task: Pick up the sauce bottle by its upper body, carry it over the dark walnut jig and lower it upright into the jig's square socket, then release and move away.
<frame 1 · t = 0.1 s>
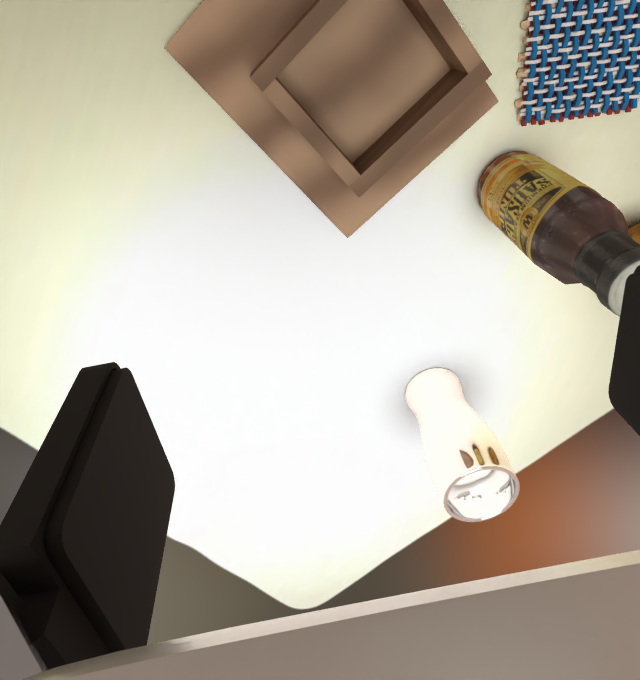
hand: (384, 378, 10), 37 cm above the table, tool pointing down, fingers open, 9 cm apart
woven mat: (577, 47, 42), on the table
sauce bottle: (506, 187, 47), on the table
beer glass: (431, 389, 58), on the table
walnut jig: (360, 70, 41), on the table
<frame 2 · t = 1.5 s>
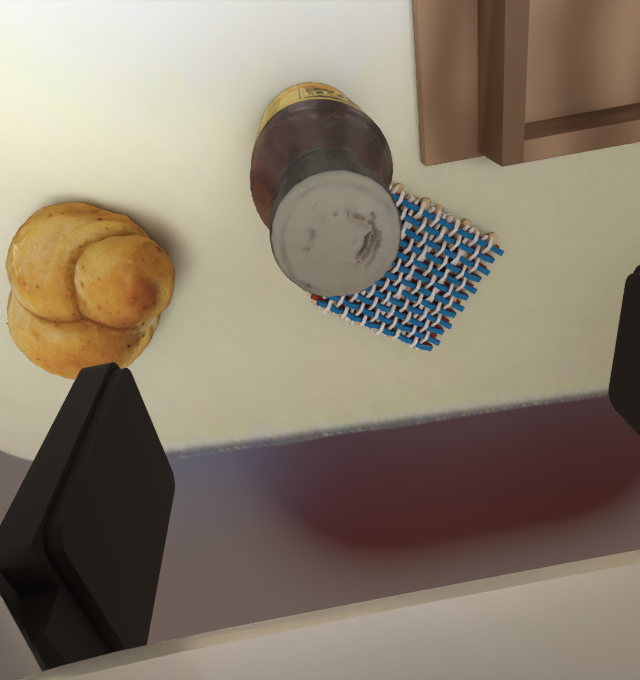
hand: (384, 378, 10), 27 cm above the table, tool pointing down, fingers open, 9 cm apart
bread roll: (97, 281, 37), on the table
woven mat: (400, 265, 39), on the table
sauce bottle: (307, 132, 33), on the table
walnut jig: (566, 21, 31), on the table
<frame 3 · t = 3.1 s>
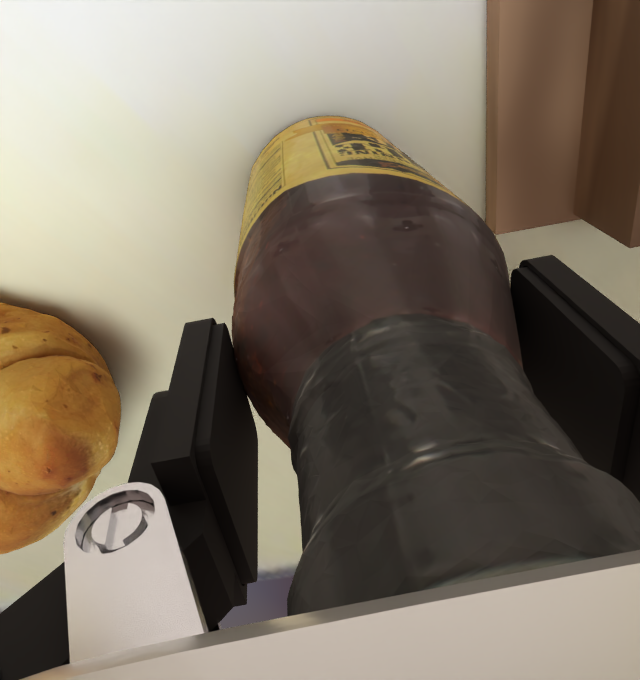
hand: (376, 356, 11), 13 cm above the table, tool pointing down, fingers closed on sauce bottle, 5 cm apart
bread roll: (20, 394, 26), on the table
sauce bottle: (319, 186, 22), on the table, touching gripper
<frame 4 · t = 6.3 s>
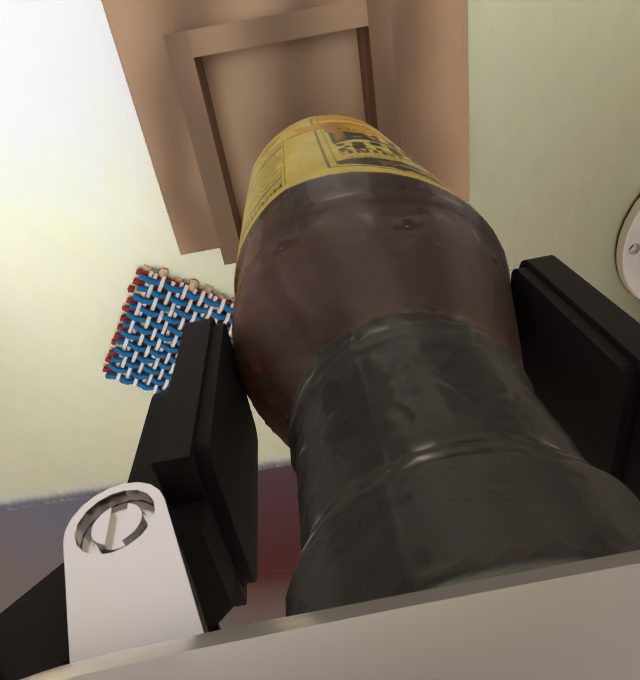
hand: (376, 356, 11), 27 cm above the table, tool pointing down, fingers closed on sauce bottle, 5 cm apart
woven mat: (188, 336, 42), on the table
sauce bottle: (320, 185, 22), point 14 cm above the table, touching gripper
walnut jig: (292, 127, 34), on the table
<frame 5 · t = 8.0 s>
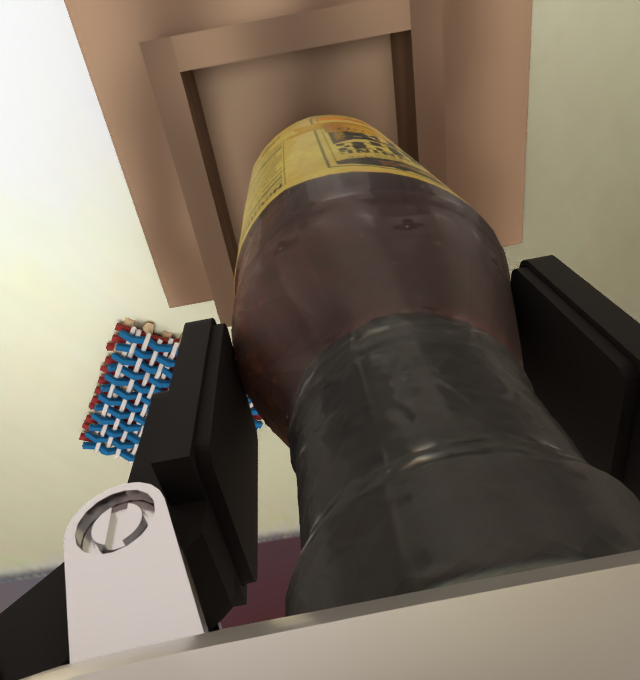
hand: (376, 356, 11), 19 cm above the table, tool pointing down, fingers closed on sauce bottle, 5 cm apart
woven mat: (181, 396, 35), on the table
sauce bottle: (320, 185, 22), point 6 cm above the table, touching gripper
walnut jig: (307, 155, 27), on the table
when the fingers open (16 cm above the table, at t = 9.4 s): sauce bottle drops 1 cm, resting on walnut jig.
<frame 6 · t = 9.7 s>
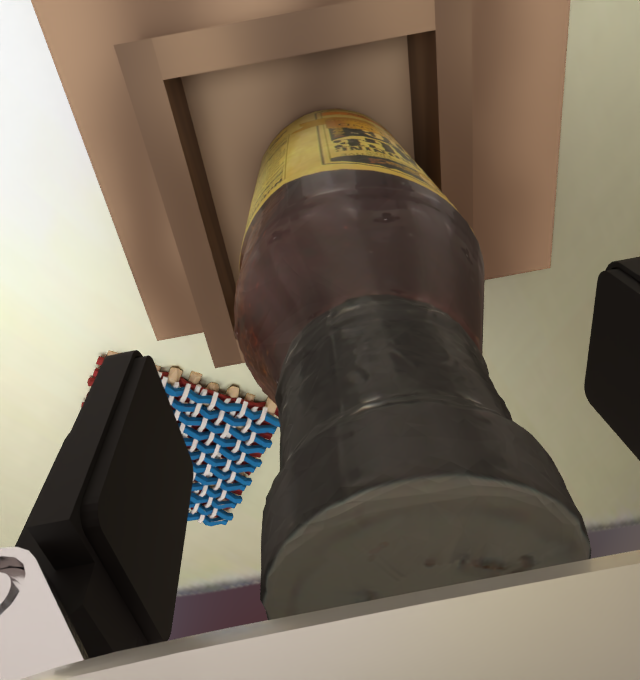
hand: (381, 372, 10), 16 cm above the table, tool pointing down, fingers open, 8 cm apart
woven mat: (172, 432, 32), on the table
sauce bottle: (326, 174, 23), point 1 cm above the table, touching walnut jig
walnut jig: (311, 171, 24), on the table
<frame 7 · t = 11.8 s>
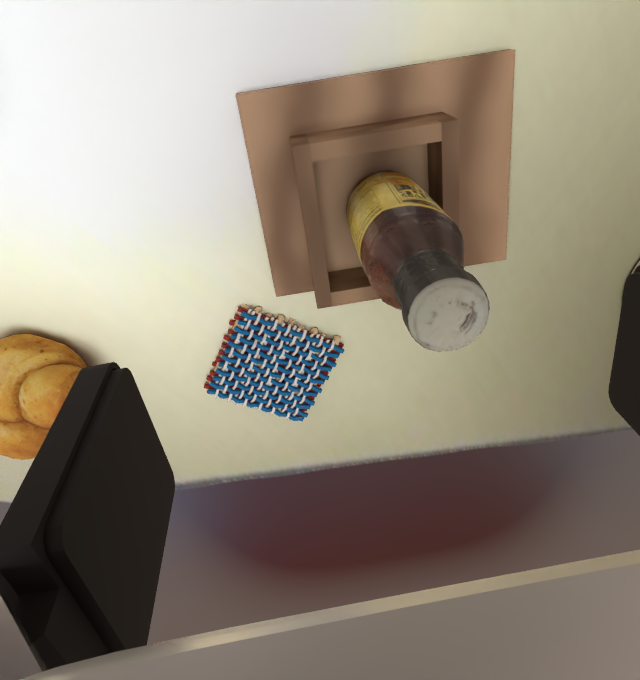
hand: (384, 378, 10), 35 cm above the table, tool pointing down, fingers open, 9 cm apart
bread roll: (41, 381, 50), on the table
woven mat: (272, 359, 51), on the table
sauce bottle: (380, 204, 43), point 1 cm above the table, touching walnut jig
walnut jig: (370, 201, 44), on the table
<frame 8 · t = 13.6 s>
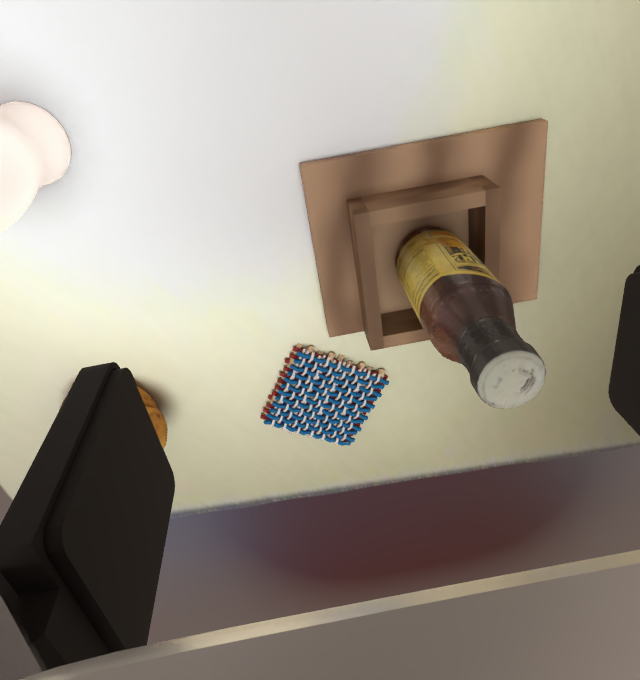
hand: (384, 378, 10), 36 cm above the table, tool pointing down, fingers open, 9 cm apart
bread roll: (112, 417, 55), on the table
woven mat: (321, 390, 56), on the table
sauce bottle: (424, 254, 47), point 1 cm above the table, touching walnut jig
beer glass: (30, 144, 41), on the table
walnut jig: (415, 251, 48), on the table
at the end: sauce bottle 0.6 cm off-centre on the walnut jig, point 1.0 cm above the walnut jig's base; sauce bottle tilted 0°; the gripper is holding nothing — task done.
